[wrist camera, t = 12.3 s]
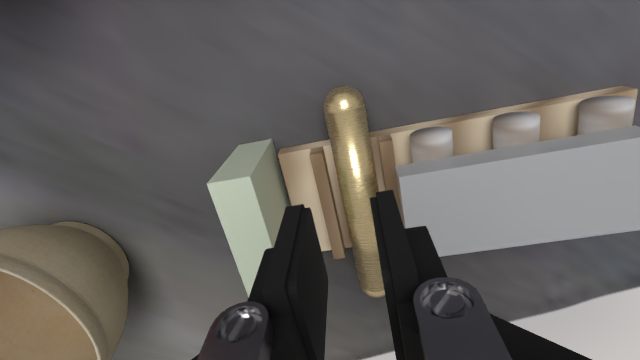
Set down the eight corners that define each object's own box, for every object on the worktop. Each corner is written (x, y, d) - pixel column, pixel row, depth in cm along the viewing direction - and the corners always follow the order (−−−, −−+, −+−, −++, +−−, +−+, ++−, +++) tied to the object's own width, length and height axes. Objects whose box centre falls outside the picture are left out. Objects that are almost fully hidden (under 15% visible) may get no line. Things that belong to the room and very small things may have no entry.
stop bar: (272, 138, 30) (250, 176, 23) (303, 253, 35) (293, 315, 28) (238, 145, 31) (206, 183, 23) (274, 257, 35) (256, 319, 28)
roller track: (622, 85, 27) (673, 97, 23) (608, 200, 31) (648, 228, 27) (280, 148, 31) (271, 168, 27) (306, 244, 35) (301, 274, 30)
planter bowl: (116, 339, 42) (45, 439, 32) (-17, 258, 38) (-145, 343, 28) (193, 260, 36) (137, 351, 26) (48, 156, 32) (-82, 216, 22)
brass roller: (359, 79, 26) (363, 85, 24) (391, 279, 34) (397, 302, 31) (320, 87, 27) (319, 94, 24) (360, 284, 34) (363, 307, 31)
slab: (635, 125, 24) (659, 134, 22) (622, 215, 26) (642, 229, 25) (394, 166, 26) (398, 177, 24) (405, 245, 29) (409, 260, 27)
